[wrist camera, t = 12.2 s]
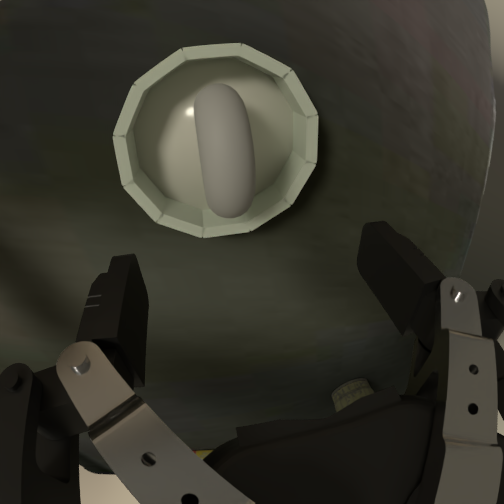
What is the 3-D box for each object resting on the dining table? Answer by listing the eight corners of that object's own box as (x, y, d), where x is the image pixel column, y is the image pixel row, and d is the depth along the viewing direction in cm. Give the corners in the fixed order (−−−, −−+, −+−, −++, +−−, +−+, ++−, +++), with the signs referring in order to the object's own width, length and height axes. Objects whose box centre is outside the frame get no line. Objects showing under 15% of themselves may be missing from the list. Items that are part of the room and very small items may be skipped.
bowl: (143, 222, 29) (137, 247, 26) (116, 63, 20) (102, 63, 17) (298, 203, 32) (313, 224, 28) (299, 47, 22) (318, 44, 19)
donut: (241, 184, 28) (264, 241, 20) (204, 190, 28) (212, 250, 20) (231, 78, 22) (254, 84, 14) (190, 83, 22) (189, 91, 14)
